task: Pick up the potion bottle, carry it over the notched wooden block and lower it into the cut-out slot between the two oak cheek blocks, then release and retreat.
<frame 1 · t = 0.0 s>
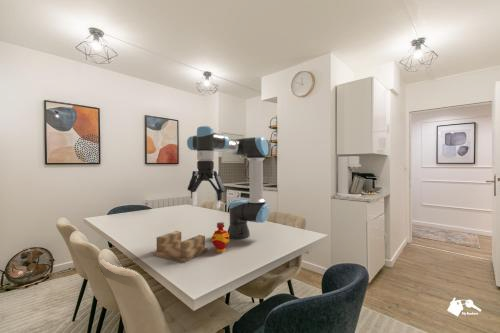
hand: (205, 206, 109), 28 cm above the table, fingers open, 13 cm apart
notched wooden block: (181, 252, 128), on the table
potion bottle: (220, 250, 131), on the table
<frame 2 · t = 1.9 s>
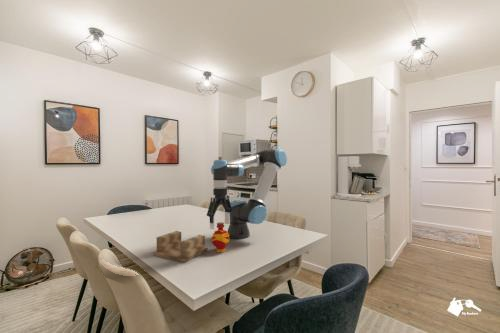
hand: (220, 226, 130), 13 cm above the table, fingers open, 13 cm apart
nothing on the table moved.
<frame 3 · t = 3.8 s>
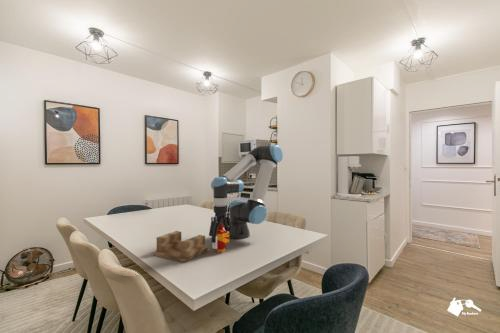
hand: (220, 245, 131), 3 cm above the table, fingers closed on potion bottle, 10 cm apart
potion bottle: (220, 250, 131), on the table, touching gripper
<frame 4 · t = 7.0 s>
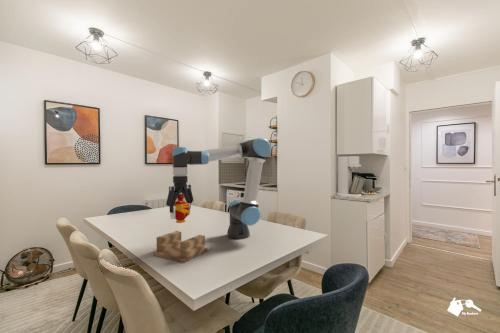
hand: (180, 216, 128), 20 cm above the table, fingers closed on potion bottle, 10 cm apart
potion bottle: (180, 222, 128), point 17 cm above the table, touching gripper
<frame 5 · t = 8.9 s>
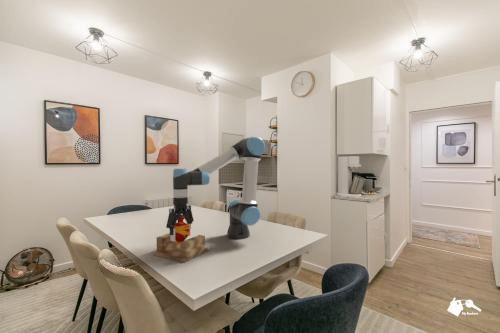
hand: (180, 238, 128), 8 cm above the table, fingers closed on potion bottle, 10 cm apart
potion bottle: (180, 243, 128), point 5 cm above the table, touching gripper
when the fingers open (6 cm above the table, at t = 10.3 s): potion bottle drops 2 cm, resting on notched wooden block.
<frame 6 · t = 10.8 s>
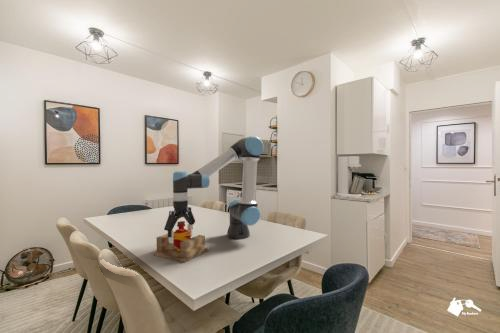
hand: (180, 239, 128), 7 cm above the table, fingers open, 13 cm apart
potion bottle: (181, 250, 128), point 1 cm above the table, touching notched wooden block
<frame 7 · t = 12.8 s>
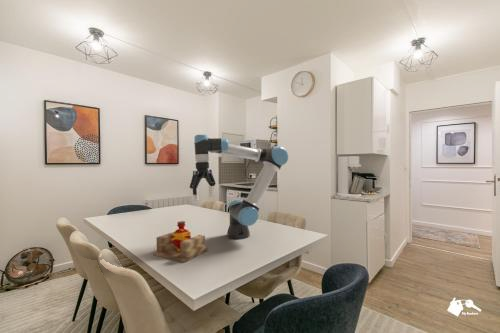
hand: (204, 198, 136), 28 cm above the table, fingers open, 13 cm apart
nothing on the table moved.
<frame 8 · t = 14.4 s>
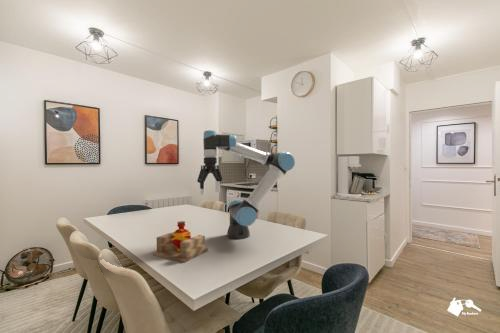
hand: (210, 193, 139), 31 cm above the table, fingers open, 13 cm apart
nothing on the table moved.
at the end: potion bottle inside the target area on the notched wooden block (0.4 cm from its centre), point 1.3 cm above the notched wooden block's base; potion bottle tilted 0°; the gripper is holding nothing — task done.
